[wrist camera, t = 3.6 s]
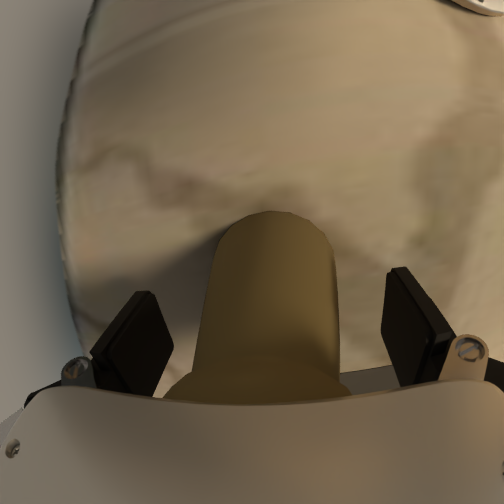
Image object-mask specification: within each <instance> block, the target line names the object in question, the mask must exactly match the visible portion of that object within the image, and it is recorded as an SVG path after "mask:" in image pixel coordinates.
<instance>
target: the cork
mask: <svg viewBox="0 0 504 504" xmlns="http://www.w3.org/2000/svg"><path fill="white" fill-rule="evenodd" d="M345 396H352V393H351V392H350V391H349V389H348V388H347V387H346V386H344V385H343V384H341V383H340V335H339V309H338V291H337V276H336V265H335V259H334V252H333V249H332V247H331V245H330V243H329V242H328V240H327V238H326V236H325V234H324V233H323V232H322V231H320V230H319V229H318V228H317V227H316V226H315V225H314V224H312V223H311V222H310V221H309V220H307V219H304V218H302V217H299V216H297V215H295V214H292V213H289V212H277V211H266V212H262V213H257V214H253V215H249V216H247V217H245V218H244V219H242V220H240V221H239V222H237V223H235V224H234V225H232V226H231V227H230V228H229V229H228V231H227V232H226V233H225V234H224V236H223V237H222V238H221V239H220V240H219V243H218V246H217V249H216V252H215V255H214V258H213V263H212V267H211V272H210V277H209V282H208V287H207V292H206V297H205V302H204V307H203V312H202V317H201V323H200V328H199V333H198V339H197V344H196V350H195V356H194V361H193V367H192V372H190V373H188V374H186V375H185V376H184V377H183V378H182V379H180V380H179V381H178V382H177V383H176V384H175V385H173V386H172V387H171V388H170V390H169V391H168V392H167V393H166V394H165V395H164V397H163V398H164V399H174V400H186V401H193V402H202V403H217V404H268V403H284V402H296V401H307V400H319V399H328V398H337V397H345Z"/></svg>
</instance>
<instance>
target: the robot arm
mask: <svg viewBox="0 0 504 504" xmlns="http://www.w3.org/2000/svg"><path fill="white" fill-rule="evenodd" d="M452 1H454V2H456V3H457V4H459V5H461V6H463V7H466V8H468V9H470V10H473V11H475V12H477V13H481V14H485V15H489V16H502V15H504V0H452ZM381 335H382V338H383V341H384V343H385V346H386V348H387V351H388V354H389V356H390V359H391V362H392V365H393V367H394V370H395V373H396V376H397V379H398V382H399V385H400V388H395V389H390V390H384V391H378V392H372V393H366V394H359V395H352V396H345V397H337V398H328V399H319V400H307V401H296V402H284V403H268V404H217V403H202V402H193V401H186V400H174V399H164V398H155V397H152V396H153V394H154V392H155V389H156V387H157V385H158V383H159V380H160V378H161V376H162V374H163V371H164V369H165V367H166V365H167V363H168V360H169V358H170V356H171V354H172V352H173V348H174V344H173V341H172V338H171V336H170V333H169V331H168V328H167V326H166V323H165V321H164V318H163V316H162V313H161V310H160V308H159V305H158V302H157V299H156V297H155V295H154V294H152V293H151V292H150V291H136V292H135V293H134V295H133V296H132V297H131V298H130V299H129V301H128V302H127V303H126V305H125V306H124V307H123V308H122V310H121V311H120V312H119V313H118V315H117V316H116V317H115V319H114V320H113V321H112V322H111V324H110V325H109V326H108V328H107V329H106V330H105V332H104V333H103V334H102V336H101V337H100V338H99V340H98V341H97V342H96V344H95V345H94V346H93V348H92V349H91V350H90V354H91V355H92V357H93V358H92V360H90V359H89V358H88V357H84V356H81V357H76V358H74V359H72V360H70V361H69V362H68V363H66V365H65V366H64V367H63V369H62V371H61V380H60V381H57V382H55V383H53V384H51V385H49V386H47V387H44V388H42V389H40V390H38V391H35V392H33V393H31V394H30V395H29V396H28V397H27V399H26V402H25V404H24V410H23V409H22V408H21V409H20V410H18V411H17V412H15V413H14V414H13V415H11V416H10V417H9V418H7V419H6V420H5V421H3V422H2V423H1V424H0V504H504V363H503V362H500V361H497V360H495V359H492V358H489V357H488V356H489V349H488V347H487V345H486V343H485V342H484V341H483V340H482V339H480V338H479V337H477V336H474V335H469V334H465V335H460V336H458V337H457V336H456V334H455V333H454V331H453V330H452V328H451V327H450V325H449V324H448V322H447V321H446V319H445V318H444V316H443V315H442V314H441V312H440V311H439V309H438V308H437V306H436V305H435V304H434V302H433V301H432V299H431V298H430V297H429V296H428V295H427V294H426V292H425V291H424V290H423V288H422V287H421V286H420V284H419V283H418V282H417V280H416V279H415V278H414V276H413V275H412V274H411V272H410V271H409V270H408V269H407V267H398V268H392V269H391V272H389V273H387V276H386V287H385V297H384V307H383V315H382V323H381Z"/></svg>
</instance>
